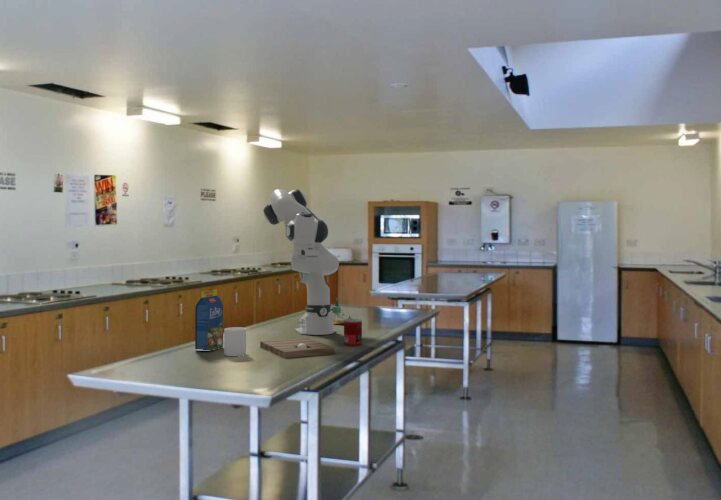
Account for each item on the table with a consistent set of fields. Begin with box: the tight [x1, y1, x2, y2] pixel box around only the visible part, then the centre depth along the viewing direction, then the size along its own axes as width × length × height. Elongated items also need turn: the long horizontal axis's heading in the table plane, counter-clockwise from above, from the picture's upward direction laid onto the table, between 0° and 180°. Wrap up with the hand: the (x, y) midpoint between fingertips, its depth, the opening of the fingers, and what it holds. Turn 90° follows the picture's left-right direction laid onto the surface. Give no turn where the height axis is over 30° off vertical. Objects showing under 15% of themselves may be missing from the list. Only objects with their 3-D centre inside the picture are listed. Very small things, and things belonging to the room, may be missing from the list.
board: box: [259, 337, 336, 359], centre depth 292 cm, size 28×22×2 cm
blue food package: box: [194, 288, 224, 351], centre depth 293 cm, size 6×12×25 cm, turn 160°
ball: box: [297, 343, 307, 349], centre depth 286 cm, size 4×4×4 cm
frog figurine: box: [330, 298, 352, 325], centre depth 375 cm, size 10×18×15 cm, turn 75°
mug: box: [223, 326, 247, 357], centre depth 282 cm, size 9×12×11 cm
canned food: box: [343, 318, 363, 347], centre depth 308 cm, size 8×8×11 cm
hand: (303, 282), depth 299 cm, fingers closed
